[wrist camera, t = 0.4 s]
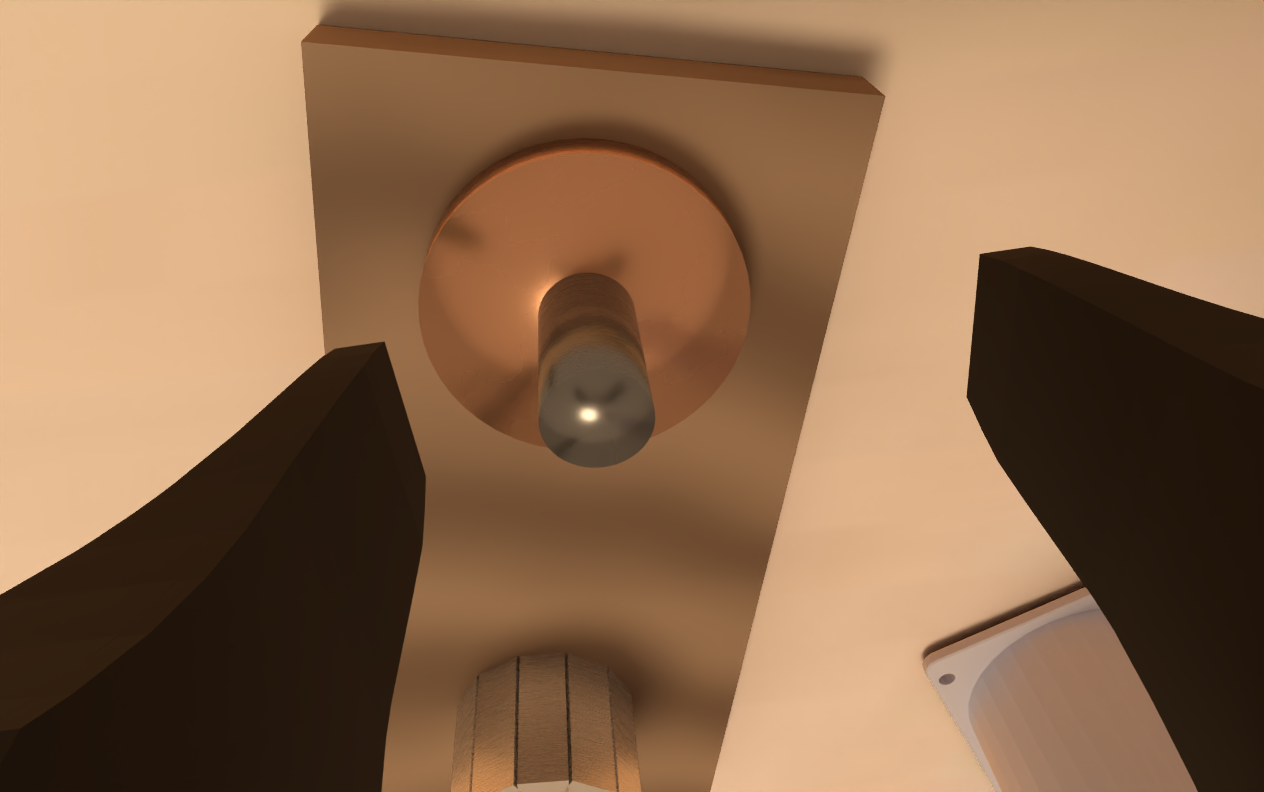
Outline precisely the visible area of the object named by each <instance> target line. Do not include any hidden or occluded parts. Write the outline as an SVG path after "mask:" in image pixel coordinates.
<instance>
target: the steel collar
mask: <svg viewBox="0 0 1264 792" xmlns="http://www.w3.org/2000/svg"><path fill="white" fill-rule="evenodd" d="M450 792H642V788H641V779H640V769H639V760H638V751H637V741H636V732H635V723H634V713H633V704H632V694H631V691H630V690H629V689H628V688H627V687H626V686H625V685H624V684H623V682H622V681H621V680H620V679H619V678H618V677H617V676H616V675H615V674H614V673H613V671H612V670H611V669H610V668H607V666H605V665H602V664H599V663H596V662H593V661H590V660H587V659H584V658H581V657H578V656H575V655H572V654H567V655H566V656H565V653H555V654H539V655H523V656H520V660H519V659H518V658H517V657H514V658H512V659H510V660H508V661H506V662H504V663H502V664H500V665H498V666H495V667H493V668H491V669H489V670H487V671H485V672H483V673H481V674H479V677H478V676H477V677H476V678H475V680H474V681H473V682H472V684H471V685H470V687H469V688H468V690H467V691H466V692H465V694H464V695H463V697H462V698H461V700H460V701H459V703H458V707H457V719H456V731H455V742H454V754H453V765H452V777H451V788H450Z"/></svg>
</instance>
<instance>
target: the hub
mask: <svg viewBox="0 0 1264 792" xmlns="http://www.w3.org/2000/svg"><path fill="white" fill-rule="evenodd" d="M418 311H419V324H420V329H421V334H422V339H423V343H424V346H425V348H426V351H427V354H428V357H429V359H430V361H431V363H432V365H433V367H434V369H435V371H436V373H437V374H438V376H439V378H440V379H441V381H442V382H443V383H444V385H445V386H446V388H447V389H448V390H449V392H450V393H451V394H452V395H453V396H454V397H455V398H456V399H457V400H458V401H459V402H460V403H461V405H462V406H463V407H464V408H466V409H467V410H468V411H469V412H471V413H472V414H473V415H474V416H476V417H477V418H478V419H479V420H481V421H483V422H484V423H486V424H487V425H489V426H490V427H492V428H494V429H495V430H497V431H499V432H502V433H504V434H506V435H508V436H510V437H512V438H515V439H517V440H520V441H523V442H526V443H529V444H532V445H537V446H541V447H546V448H549V449H550V450H551V451H552V452H553V453H554V454H555V455H556V456H558V457H559V458H561V459H562V460H564V461H566V462H568V463H571V464H574V465H577V466H582V467H589V468H600V467H608V466H613V465H616V464H619V463H621V462H624V461H626V460H628V459H629V458H631V457H633V456H634V455H635V454H637V453H638V452H639V451H640V450H641V449H642V448H643V447H644V446H645V445H646V443H647V442H648V440H649V439H650V438H651V437H653V436H656V435H658V434H660V433H662V432H664V431H666V430H668V429H670V428H672V427H673V426H675V425H677V424H678V423H680V422H682V421H683V420H685V419H686V418H687V417H689V416H690V415H691V414H693V413H694V412H695V411H696V410H698V409H699V408H700V407H701V406H702V405H703V404H704V403H705V402H706V401H707V400H708V399H709V398H710V397H711V396H712V395H713V394H714V393H715V392H716V390H717V389H718V388H719V387H720V386H721V384H722V383H723V382H724V380H725V379H726V377H727V376H728V374H729V372H730V371H731V369H732V368H733V366H734V364H735V362H736V360H737V358H738V355H739V353H740V351H741V349H742V346H743V343H744V339H745V336H746V333H747V329H748V323H749V316H750V285H749V277H748V272H747V268H746V265H745V261H744V258H743V254H742V252H741V250H740V248H739V245H738V243H737V241H736V239H735V237H734V234H733V232H732V230H731V228H730V226H729V223H728V221H727V219H726V217H725V215H724V214H723V212H722V211H721V209H720V208H719V206H718V204H717V203H716V201H715V200H714V199H713V197H712V196H711V195H710V194H709V193H708V192H707V191H706V189H705V188H704V187H703V186H702V185H701V184H700V183H699V182H698V181H697V180H695V179H694V178H693V177H692V176H691V175H690V174H688V173H687V172H686V171H685V170H683V169H682V168H680V167H679V166H677V165H676V164H674V163H673V162H671V161H670V160H668V159H666V158H664V157H662V156H660V155H658V154H656V153H653V152H651V151H649V150H647V149H644V148H641V147H637V146H634V145H631V144H628V143H624V142H618V141H612V140H607V139H592V138H575V139H564V140H556V141H551V142H547V143H542V144H538V145H534V146H531V147H529V148H526V149H523V150H520V151H518V152H515V153H513V154H511V155H509V156H507V157H505V158H503V159H501V160H499V161H497V162H496V163H494V164H493V165H491V166H490V167H488V168H487V169H485V170H484V171H483V172H481V173H480V174H478V175H477V176H476V177H475V178H474V179H473V180H472V181H470V182H469V183H468V184H467V185H466V186H465V187H464V188H463V189H462V190H461V191H460V192H459V193H458V195H457V196H456V197H455V198H454V200H453V201H452V202H451V203H450V205H449V206H448V207H447V209H446V211H445V212H444V214H443V216H442V217H441V219H440V221H439V223H438V224H437V227H436V229H435V231H434V234H433V236H432V239H431V241H430V244H429V248H428V252H427V256H426V260H425V264H424V268H423V273H422V277H421V281H420V288H419V299H418Z"/></svg>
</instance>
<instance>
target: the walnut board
mask: <svg viewBox="0 0 1264 792" xmlns="http://www.w3.org/2000/svg"><path fill="white" fill-rule="evenodd" d="M301 46H302V59H303V72H304V86H305V99H306V112H307V125H308V138H309V151H310V164H311V177H312V190H313V203H314V216H315V229H316V242H317V256H318V269H319V282H320V295H321V308H322V321H323V334H324V347H325V355H326V354H327V353H329V352H330V351H332V350H333V349H336V348H343V347H349V346H356V345H363V344H370V343H377V342H383V341H385V344H386V347H387V351H388V354H389V357H390V361H391V364H392V367H393V370H394V374H395V377H396V380H397V383H398V387H399V390H400V393H401V396H402V400H403V403H404V406H405V410H406V413H407V416H408V419H409V423H410V426H411V429H412V432H413V436H414V439H415V442H416V445H417V449H418V452H419V455H420V459H421V462H422V465H423V468H424V472H425V475H426V490H425V517H424V533H423V546H422V552H421V557H420V563H419V568H418V573H417V578H416V584H415V589H414V594H413V599H412V604H411V609H410V614H409V619H408V624H407V629H406V634H405V639H404V643H403V648H402V653H401V658H400V663H399V668H398V673H397V678H396V683H395V688H394V693H393V698H392V703H391V710H390V716H389V723H388V730H387V736H386V746H385V758H384V769H383V781H382V792H450V788H451V777H452V765H453V754H454V742H455V731H456V719H457V707H458V703H459V701H460V700H461V698H462V697H463V695H464V694H465V692H466V691H467V690H468V688H469V687H470V685H471V684H472V682H473V681H474V680H475V678H476V677H477V676H478V677H479V674H481V673H483V672H485V671H487V670H489V669H491V668H493V667H495V666H498V665H500V664H502V663H504V662H506V661H508V660H510V659H512V658H514V657H517V658H518V659H519V660H520V656H523V655H539V654H555V653H565V656H566V655H567V654H572V655H575V656H578V657H581V658H584V659H587V660H590V661H593V662H596V663H599V664H602V665H605V666H607V668H610V669H611V670H612V671H613V673H614V674H615V675H616V676H617V677H618V678H619V679H620V680H621V681H622V682H623V684H624V685H625V686H626V687H627V688H628V689H629V690H630V691H631V694H632V704H633V713H634V723H635V732H636V741H637V751H638V760H639V769H640V779H641V788H642V792H710V790H711V786H712V782H713V778H714V774H715V770H716V766H717V762H718V758H719V754H720V750H721V746H722V742H723V738H724V734H725V731H726V727H727V723H728V719H729V715H730V711H731V707H732V703H733V699H734V695H735V691H736V687H737V683H738V679H739V675H740V671H741V667H742V663H743V659H744V655H745V651H746V647H747V643H748V639H749V635H750V631H751V627H752V623H753V619H754V615H755V611H756V607H757V603H758V599H759V595H760V591H761V587H762V583H763V580H764V576H765V572H766V568H767V564H768V560H769V556H770V552H771V548H772V544H773V540H774V536H775V532H776V528H777V524H778V520H779V516H780V512H781V508H782V504H783V500H784V496H785V492H786V488H787V484H788V480H789V476H790V472H791V468H792V464H793V460H794V456H795V452H796V448H797V444H798V440H799V436H800V432H801V429H802V425H803V421H804V417H805V413H806V409H807V405H808V401H809V397H810V393H811V389H812V385H813V381H814V377H815V373H816V369H817V365H818V361H819V357H820V353H821V349H822V345H823V341H824V337H825V333H826V329H827V325H828V321H829V317H830V313H831V309H832V305H833V301H834V297H835V293H836V289H837V285H838V281H839V278H840V274H841V270H842V266H843V262H844V258H845V254H846V250H847V246H848V242H849V238H850V234H851V230H852V226H853V222H854V218H855V214H856V210H857V206H858V202H859V198H860V194H861V190H862V186H863V182H864V178H865V174H866V170H867V166H868V162H869V158H870V154H871V150H872V146H873V142H874V138H875V134H876V130H877V127H878V123H879V119H880V115H881V111H882V107H883V103H884V99H885V96H884V95H883V94H882V93H881V92H880V91H878V90H877V89H876V88H875V87H874V86H873V85H871V84H870V83H869V82H868V81H867V80H865V79H864V78H863V77H858V76H847V75H837V74H826V73H816V72H805V71H795V70H784V69H774V68H763V67H753V66H743V65H732V64H722V63H711V62H701V61H690V60H680V59H669V58H659V57H649V56H638V55H628V54H617V53H607V52H596V51H586V50H575V49H565V48H555V47H544V46H534V45H523V44H513V43H502V42H492V41H481V40H471V39H461V38H450V37H440V36H429V35H419V34H408V33H398V32H387V31H377V30H366V29H356V28H346V27H335V26H325V25H317V26H316V27H315V28H314V29H313V30H312V31H311V32H310V33H309V34H308V35H307V36H306V37H305V38H304V39H303V40H302V41H301ZM575 138H592V139H607V140H612V141H618V142H624V143H628V144H631V145H634V146H637V147H641V148H644V149H647V150H649V151H651V152H653V153H656V154H658V155H660V156H662V157H664V158H666V159H668V160H670V161H671V162H673V163H674V164H676V165H677V166H679V167H680V168H682V169H683V170H685V171H686V172H687V173H688V174H690V175H691V176H692V177H693V178H694V179H695V180H697V181H698V182H699V183H700V184H701V185H702V186H703V187H704V188H705V189H706V191H707V192H708V193H709V194H710V195H711V196H712V197H713V199H714V200H715V201H716V203H717V204H718V206H719V208H720V209H721V211H722V212H723V214H724V215H725V217H726V219H727V221H728V223H729V226H730V228H731V230H732V232H733V234H734V237H735V239H736V241H737V243H738V245H739V248H740V250H741V252H742V254H743V258H744V261H745V265H746V268H747V272H748V277H749V285H750V316H749V323H748V329H747V333H746V336H745V339H744V343H743V346H742V349H741V351H740V353H739V355H738V358H737V360H736V362H735V364H734V366H733V368H732V369H731V371H730V372H729V374H728V376H727V377H726V379H725V380H724V382H723V383H722V384H721V386H720V387H719V388H718V389H717V390H716V392H715V393H714V394H713V395H712V396H711V397H710V398H709V399H708V400H707V401H706V402H705V403H704V404H703V405H702V406H701V407H700V408H699V409H698V410H696V411H695V412H694V413H693V414H691V415H690V416H689V417H687V418H686V419H685V420H683V421H682V422H680V423H678V424H677V425H675V426H673V427H672V428H670V429H668V430H666V431H664V432H662V433H660V434H658V435H656V436H653V437H651V438H650V439H649V440H648V442H647V443H646V445H645V446H644V447H643V448H642V449H641V450H640V451H639V452H638V453H637V454H635V455H634V456H633V457H631V458H629V459H628V460H626V461H624V462H621V463H619V464H616V465H613V466H608V467H600V468H589V467H582V466H577V465H574V464H571V463H568V462H566V461H564V460H562V459H561V458H559V457H558V456H556V455H555V454H554V453H553V452H552V451H551V450H550V449H549V448H546V447H541V446H537V445H532V444H529V443H526V442H523V441H520V440H517V439H515V438H512V437H510V436H508V435H506V434H504V433H502V432H499V431H497V430H495V429H494V428H492V427H490V426H489V425H487V424H486V423H484V422H483V421H481V420H479V419H478V418H477V417H476V416H474V415H473V414H472V413H471V412H469V411H468V410H467V409H466V408H464V407H463V406H462V405H461V403H460V402H459V401H458V400H457V399H456V398H455V397H454V396H453V395H452V394H451V393H450V392H449V390H448V389H447V388H446V386H445V385H444V383H443V382H442V381H441V379H440V378H439V376H438V374H437V373H436V371H435V369H434V367H433V365H432V363H431V361H430V359H429V357H428V354H427V351H426V348H425V346H424V343H423V339H422V334H421V329H420V324H419V311H418V299H419V288H420V281H421V277H422V273H423V268H424V264H425V260H426V256H427V252H428V248H429V244H430V241H431V239H432V236H433V234H434V231H435V229H436V227H437V224H438V223H439V221H440V219H441V217H442V216H443V214H444V212H445V211H446V209H447V207H448V206H449V205H450V203H451V202H452V201H453V200H454V198H455V197H456V196H457V195H458V193H459V192H460V191H461V190H462V189H463V188H464V187H465V186H466V185H467V184H468V183H469V182H470V181H472V180H473V179H474V178H475V177H476V176H477V175H478V174H480V173H481V172H483V171H484V170H485V169H487V168H488V167H490V166H491V165H493V164H494V163H496V162H497V161H499V160H501V159H503V158H505V157H507V156H509V155H511V154H513V153H515V152H518V151H520V150H523V149H526V148H529V147H531V146H534V145H538V144H542V143H547V142H551V141H556V140H564V139H575Z"/></svg>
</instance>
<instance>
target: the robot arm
mask: <svg viewBox="0 0 1264 792" xmlns="http://www.w3.org/2000/svg"><path fill="white" fill-rule="evenodd" d="M967 399H968V401H969V403H970V405H971V407H972V409H973V412H974V414H975V416H976V418H977V420H978V422H979V425H980V427H981V429H982V431H983V433H984V435H985V437H986V439H987V441H988V443H989V445H990V447H991V449H992V451H993V453H994V455H995V457H996V459H997V460H998V462H999V463H1000V465H1001V466H1002V468H1003V469H1004V471H1005V473H1006V474H1007V476H1008V477H1009V478H1010V480H1011V481H1012V483H1013V484H1014V486H1015V487H1016V489H1017V490H1018V492H1019V493H1020V494H1021V496H1022V497H1023V499H1024V500H1025V502H1026V503H1027V505H1028V506H1029V507H1030V509H1031V510H1032V512H1033V513H1034V515H1035V516H1036V517H1037V519H1038V520H1039V522H1040V523H1041V525H1042V526H1043V527H1044V529H1045V530H1046V532H1047V533H1048V534H1049V536H1050V537H1051V539H1052V540H1053V542H1054V543H1055V544H1056V546H1057V547H1058V549H1059V550H1060V551H1061V553H1062V554H1063V556H1064V557H1065V559H1066V560H1067V561H1068V563H1069V564H1070V566H1071V567H1072V568H1073V570H1074V571H1075V573H1076V574H1077V576H1078V577H1079V578H1080V580H1081V581H1082V583H1083V584H1084V586H1085V587H1084V588H1082V589H1079V590H1077V591H1075V592H1072V593H1070V594H1068V595H1065V596H1063V597H1061V598H1058V599H1056V600H1054V601H1051V602H1049V603H1047V604H1044V605H1042V606H1040V607H1037V608H1035V609H1033V610H1030V611H1028V612H1026V613H1023V614H1021V615H1019V616H1016V617H1014V618H1012V619H1009V620H1007V621H1005V622H1002V623H1000V624H998V625H995V626H993V627H991V628H988V629H986V630H984V631H982V632H979V633H977V634H975V635H972V636H970V637H968V638H965V639H963V640H961V641H958V642H956V643H954V644H951V645H949V646H947V647H944V648H942V649H940V650H937V651H935V652H933V653H931V654H929V655H928V656H927V657H926V658H925V659H924V661H923V664H922V665H923V669H924V671H925V673H926V675H927V677H928V679H929V680H930V682H931V684H932V685H933V687H934V689H935V690H936V692H937V694H938V695H939V697H940V699H941V700H942V702H943V704H944V705H945V707H946V709H947V710H948V712H949V714H950V715H951V717H952V719H953V720H954V722H955V724H956V725H957V727H958V729H959V730H960V732H961V734H962V736H963V737H964V739H965V741H966V742H967V744H968V746H969V747H970V749H971V751H972V752H973V754H974V756H975V757H976V759H977V761H978V762H979V764H980V766H981V767H982V769H983V771H984V772H985V774H986V776H987V777H988V779H989V781H990V782H991V784H992V786H993V787H994V789H995V791H996V792H1264V318H1260V317H1257V316H1253V315H1250V314H1246V313H1243V312H1239V311H1236V310H1232V309H1229V308H1226V307H1223V306H1220V305H1217V304H1213V303H1210V302H1207V301H1204V300H1201V299H1198V298H1195V297H1191V296H1188V295H1185V294H1182V293H1179V292H1176V291H1173V290H1170V289H1167V288H1164V287H1161V286H1158V285H1155V284H1153V283H1150V282H1147V281H1144V280H1141V279H1138V278H1135V277H1132V276H1129V275H1126V274H1123V273H1120V272H1117V271H1114V270H1111V269H1108V268H1105V267H1103V266H1100V265H1097V264H1094V263H1090V262H1087V261H1084V260H1081V259H1078V258H1075V257H1071V256H1068V255H1065V254H1061V253H1058V252H1054V251H1050V250H1046V249H1040V248H1035V247H1025V248H1018V249H1011V250H1004V251H997V252H990V253H984V254H980V258H979V269H978V280H977V290H976V301H975V312H974V323H973V334H972V345H971V355H970V366H969V377H968V388H967ZM425 490H426V475H425V472H424V468H423V465H422V462H421V459H420V455H419V452H418V449H417V445H416V442H415V439H414V436H413V432H412V429H411V426H410V423H409V419H408V416H407V413H406V410H405V406H404V403H403V400H402V396H401V393H400V390H399V387H398V383H397V380H396V377H395V374H394V370H393V367H392V364H391V361H390V357H389V354H388V351H387V347H386V344H385V341H383V342H377V343H370V344H363V345H356V346H349V347H343V348H336V349H333V350H332V351H330V352H329V353H327V354H326V355H325V356H323V357H322V358H321V359H319V360H318V361H317V362H316V363H315V364H313V365H312V366H311V367H310V368H309V369H308V370H306V371H305V372H304V373H303V374H302V375H301V376H300V377H298V378H297V379H296V380H295V381H294V382H293V383H292V384H291V385H289V386H288V387H287V388H286V389H285V390H284V391H283V392H282V393H281V394H280V395H278V396H277V397H276V398H275V399H274V400H273V401H272V402H271V403H269V404H268V405H267V406H266V407H265V408H264V409H263V410H262V411H260V412H259V413H258V414H257V415H256V416H255V417H254V418H253V419H251V420H250V421H249V422H248V423H247V424H246V425H245V426H244V427H242V428H241V429H240V430H239V431H238V432H237V433H236V434H234V435H233V436H232V437H231V438H230V439H228V440H227V441H226V442H225V443H223V444H222V445H221V446H220V447H219V448H217V449H216V450H215V451H214V452H212V453H211V454H210V455H209V456H207V457H206V458H205V459H204V460H203V461H201V462H200V463H199V464H198V465H196V466H195V467H194V468H193V469H191V470H190V471H189V472H188V473H187V474H185V475H184V476H183V477H182V478H180V479H179V480H178V481H177V482H175V483H174V484H173V485H172V486H170V487H169V488H168V489H166V490H165V491H164V492H162V493H161V494H160V495H158V496H157V497H156V498H154V499H153V500H152V501H150V502H149V503H147V504H146V505H145V506H143V507H142V508H140V509H139V510H138V511H136V512H135V513H133V514H132V515H130V516H129V517H127V518H126V519H124V520H123V521H121V522H120V523H118V524H117V525H115V526H114V527H112V528H111V529H109V530H108V531H106V532H105V533H103V534H102V535H100V536H99V537H97V538H96V539H94V540H93V541H91V542H90V543H88V544H87V545H85V546H83V547H82V548H80V549H79V550H77V551H76V552H74V553H72V554H70V555H69V556H67V557H65V558H63V559H62V560H60V561H58V562H57V563H55V564H53V565H51V566H50V567H48V568H46V569H44V570H43V571H41V572H39V573H38V574H36V575H34V576H32V577H31V578H29V579H27V580H25V581H24V582H22V583H20V584H18V585H17V586H15V587H13V588H12V589H10V590H8V591H6V592H5V593H3V594H1V595H0V792H382V781H383V769H384V758H385V746H386V736H387V730H388V723H389V716H390V710H391V703H392V698H393V693H394V688H395V683H396V678H397V673H398V668H399V663H400V658H401V653H402V648H403V643H404V639H405V634H406V629H407V624H408V619H409V614H410V609H411V604H412V599H413V594H414V589H415V584H416V578H417V573H418V568H419V563H420V557H421V552H422V546H423V533H424V517H425Z"/></svg>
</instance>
